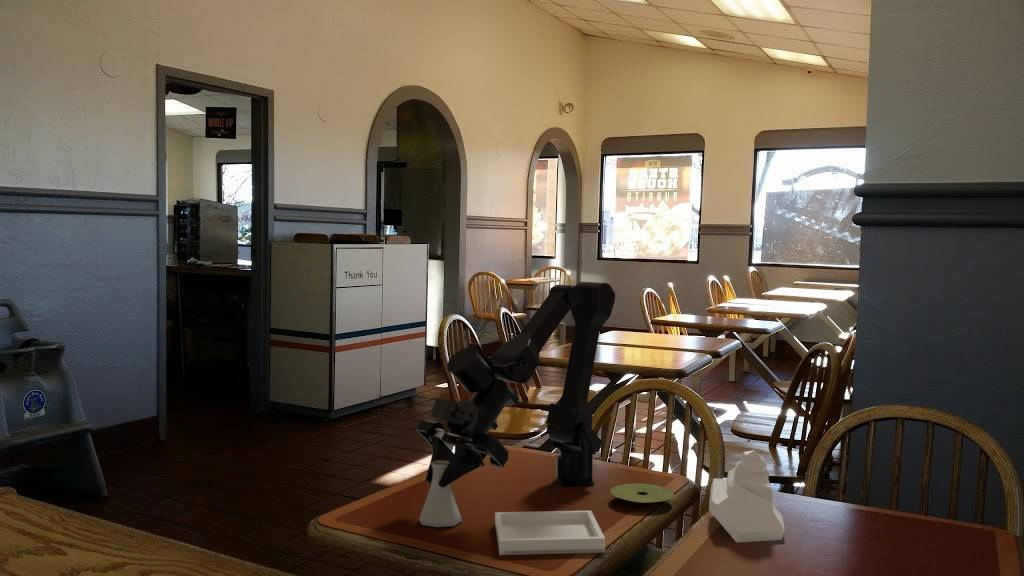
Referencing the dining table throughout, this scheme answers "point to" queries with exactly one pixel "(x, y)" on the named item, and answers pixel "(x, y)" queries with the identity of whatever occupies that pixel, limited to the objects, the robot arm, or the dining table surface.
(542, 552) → the tray
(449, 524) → the flask
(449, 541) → the dining table surface
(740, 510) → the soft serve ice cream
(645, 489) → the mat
